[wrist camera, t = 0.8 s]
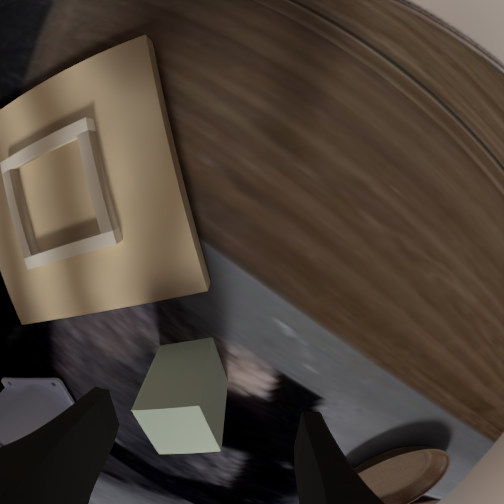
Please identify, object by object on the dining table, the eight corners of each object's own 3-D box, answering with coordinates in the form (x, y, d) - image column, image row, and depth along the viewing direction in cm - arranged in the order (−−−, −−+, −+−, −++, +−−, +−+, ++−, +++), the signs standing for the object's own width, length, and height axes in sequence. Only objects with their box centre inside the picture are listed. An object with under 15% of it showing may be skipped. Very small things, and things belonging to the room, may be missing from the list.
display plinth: (31, 316, 21) (15, 330, 19) (-18, 132, 17) (-39, 132, 14) (210, 281, 20) (205, 298, 18) (152, 42, 16) (140, 28, 14)
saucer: (297, 496, 28) (299, 514, 25) (388, 421, 24) (397, 441, 22) (381, 506, 30) (386, 520, 27) (462, 441, 27) (470, 455, 24)
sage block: (178, 387, 23) (159, 454, 16) (160, 345, 22) (131, 410, 15) (227, 380, 22) (221, 451, 16) (212, 337, 21) (199, 405, 15)
